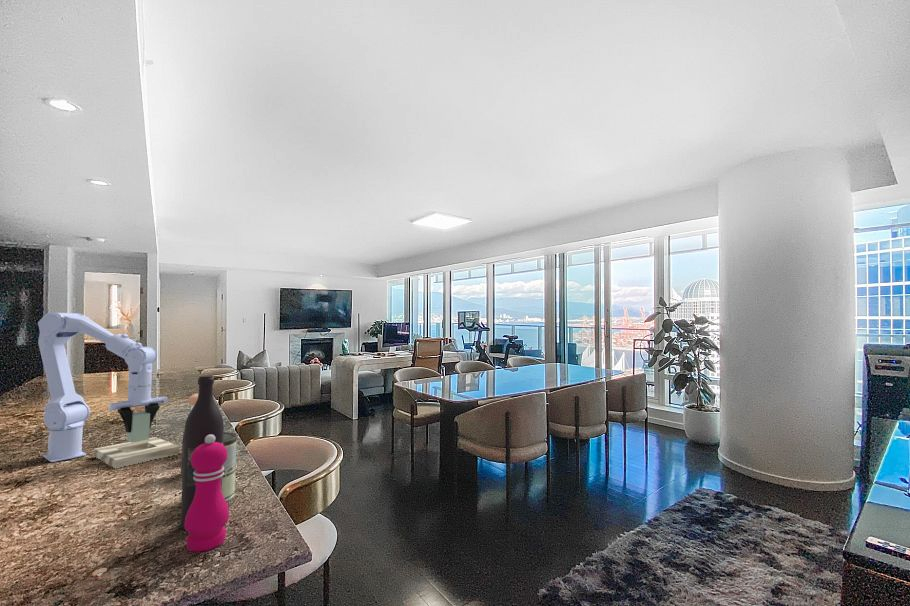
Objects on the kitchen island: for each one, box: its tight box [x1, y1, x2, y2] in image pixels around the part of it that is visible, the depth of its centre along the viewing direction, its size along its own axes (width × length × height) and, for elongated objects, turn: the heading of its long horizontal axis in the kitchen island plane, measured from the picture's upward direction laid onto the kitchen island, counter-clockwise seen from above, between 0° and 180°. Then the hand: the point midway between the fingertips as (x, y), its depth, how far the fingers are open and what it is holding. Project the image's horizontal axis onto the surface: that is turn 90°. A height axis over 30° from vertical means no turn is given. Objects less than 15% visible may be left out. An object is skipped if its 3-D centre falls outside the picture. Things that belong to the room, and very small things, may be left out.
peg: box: [126, 411, 151, 443], centre depth 128 cm, size 4×4×8 cm
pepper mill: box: [184, 434, 230, 553], centre depth 78 cm, size 7×7×20 cm
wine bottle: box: [180, 374, 225, 531], centre depth 85 cm, size 7×7×30 cm
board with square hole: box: [93, 436, 180, 470], centre depth 127 cm, size 18×16×2 cm
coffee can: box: [222, 431, 238, 503], centre depth 97 cm, size 10×10×14 cm
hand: (138, 430), depth 128 cm, fingers closed on peg, 4 cm apart
